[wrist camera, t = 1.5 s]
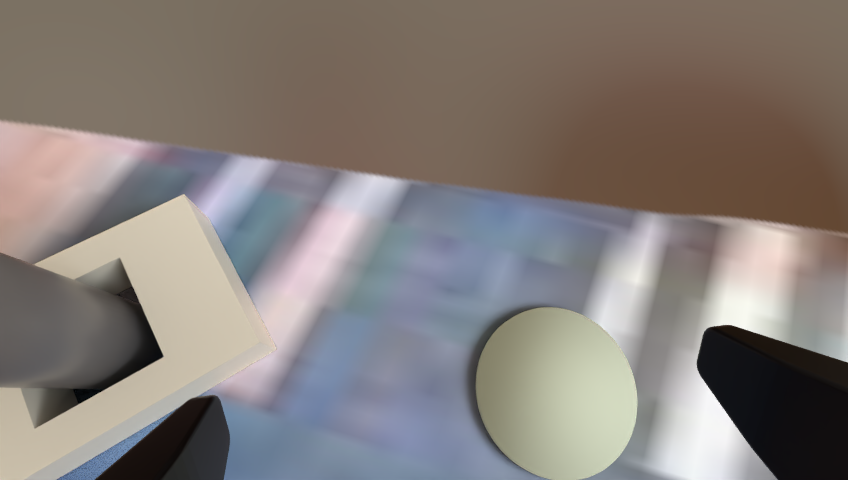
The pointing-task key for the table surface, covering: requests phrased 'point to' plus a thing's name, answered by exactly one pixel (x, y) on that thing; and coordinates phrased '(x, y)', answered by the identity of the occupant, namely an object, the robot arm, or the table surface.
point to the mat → (556, 394)
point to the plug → (67, 331)
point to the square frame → (171, 324)
